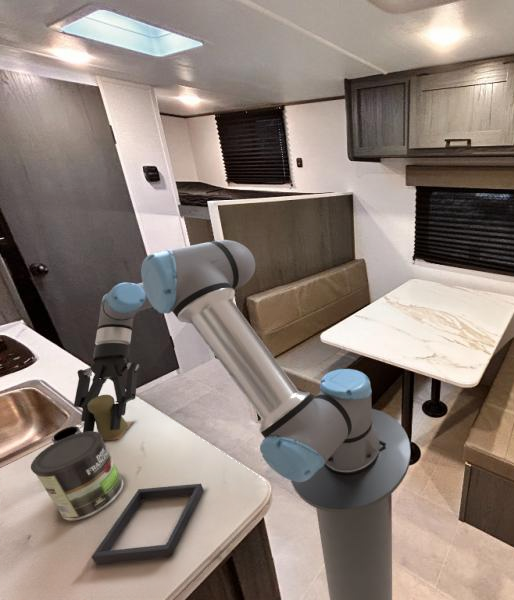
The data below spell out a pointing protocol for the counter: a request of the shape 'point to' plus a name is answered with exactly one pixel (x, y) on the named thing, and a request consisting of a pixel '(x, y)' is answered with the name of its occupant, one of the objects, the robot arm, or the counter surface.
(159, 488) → the open rectangular frame
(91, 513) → the coffee can
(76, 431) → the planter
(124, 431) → the coaster
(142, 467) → the counter surface
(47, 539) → the counter surface
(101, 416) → the pepper shaker
